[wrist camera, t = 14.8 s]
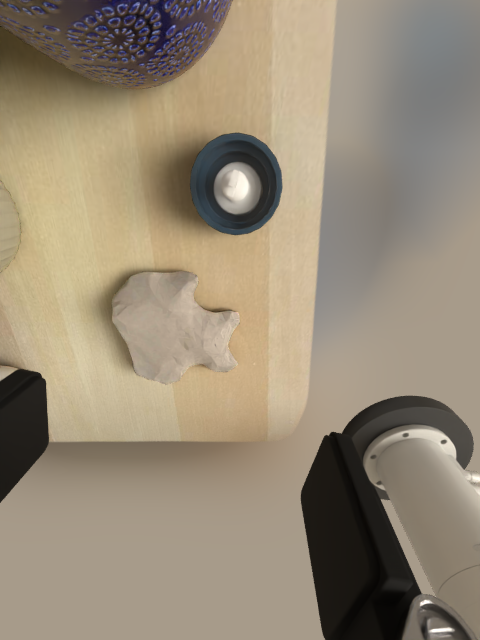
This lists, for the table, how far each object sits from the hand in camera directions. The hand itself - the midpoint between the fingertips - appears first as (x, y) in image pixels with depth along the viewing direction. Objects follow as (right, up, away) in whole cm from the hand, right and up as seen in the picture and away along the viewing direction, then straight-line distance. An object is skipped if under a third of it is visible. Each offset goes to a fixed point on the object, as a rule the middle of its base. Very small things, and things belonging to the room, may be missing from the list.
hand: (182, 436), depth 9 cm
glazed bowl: (+2, +17, +20) cm, 26 cm away
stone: (-5, +3, +26) cm, 27 cm away
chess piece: (+2, +17, +19) cm, 26 cm away
